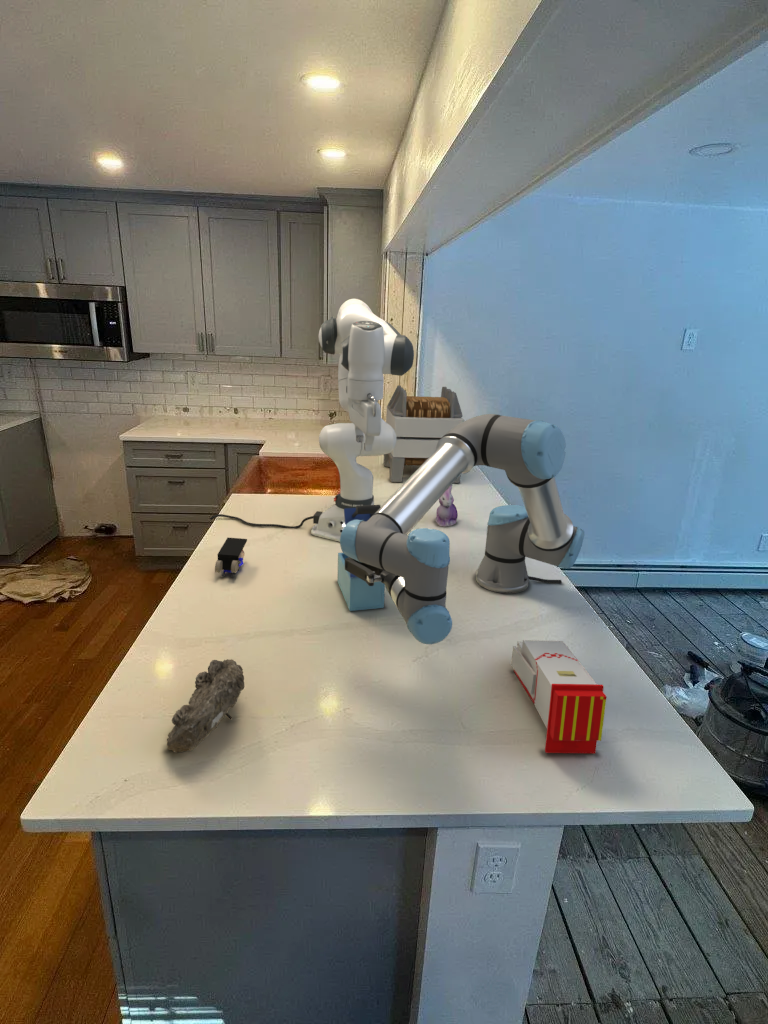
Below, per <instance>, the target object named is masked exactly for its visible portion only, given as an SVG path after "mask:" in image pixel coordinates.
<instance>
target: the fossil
mask: <svg viewBox="0 0 768 1024" xmlns="http://www.w3.org/2000/svg"><path fill="white" fill-rule="evenodd" d="M243 670H244V669H243V667H242V665H240V664H237V662H236V661H235V660H234V659H232V658H231V659H227V658H226V659H224V660H223V661H222V660H217V659H212V660H211V661H210V663H209V665H208V666H207V671H201V672H199V673H198V674H197V675H196V676H195V680H194V684H195V685H194V687H195V689H194V690H193V693H192V694H191V697H190V698H189V700H188V704H184V705H182V706H181V707H180V709H177V710H176V711H175V713H174V715H173V716H172V718H171V723H172V724H173V727H172V730H171V731H170V732H168V734H167V738H166V741H167V742H166V745H167V749H168V750H169V751H173V752H174V753H176V754H178V753H182V752H188V751H189V752H192V751H193V750H195V748H196V747H197V746H199V744H200V743H201V742H203V741H204V740H205V739H206V738H207V737H208V736H209V735H210V734H211V733H212V732H214V730H215V729H217V727H218V726H219V724H220V722H221V721H222V720H223V719H224V718H225V716H226V717H227V719H229V720H233V717H232V715H230V714H229V710H230V709H231V708H234V706H235V704H236V703H237V702H238V699H239V697H240V695H241V693H242V691H243V690H245V689H244V688H245V675H244V671H243Z"/></svg>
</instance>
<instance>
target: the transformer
mask: <svg viewBox="0 0 768 1024" xmlns="http://www.w3.org/2000/svg"><path fill="white" fill-rule="evenodd" d="M440 393H441V394H440V396H415V395H414V396H413V395H412V396H411V395H407V394H408V393H407V390H406V389H404V388H403V387H402V385H399V384H398V385H397V386H396V388H395V390H394V392H393V394H392V395H391V398H390V400H389V402H388V404H387V405H386V413H385V414H386V415H385V422H386V423H387V424H389V425H390V426H391V427H392V428H393V429H394V431H395V433H396V438H397V440H396V445H395V448H394V449H393V451H392V452H391V453H388V454H384V455H383V466H384V467H388V468H389V475H388V476H389V477H388V478H389V480H390V482H391V483H402V482H403V475H404V469H405V466H406V467H407V466H411V467H412V466H413V467H415V466H416V467H417V466H418V467H420V466H421V465H422V464H423V463H424V462H425V461H426V460H427V459H428V458H429V457H430V456H431V455H432V454H433V453H434V452H435V451H436V445H437V443H438V441H439V440H440V439H441V438H442V437H443V436H444V435H445V434H446V433H447V432H449V431H450V430H451V429H452V428H454V427H455V426H457V425H459V424H460V423H462V422H464V421H466V420H465V419H464V418H463V411H462V408H461V405H460V402H459V398H458V395H457V392H455V391H453V390H452V389H451V388H447V386H442V387H441V392H440ZM455 483H456V484H459V483H461V475H460V476H459V477H458V478H457V479H456V480H455V481H454V482H453V484H455Z"/></svg>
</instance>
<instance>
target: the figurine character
mask: <svg viewBox="0 0 768 1024" xmlns="http://www.w3.org/2000/svg"><path fill="white" fill-rule="evenodd" d="M247 542H248V538H240V537H226V539H225V541H224V543H223V544H222V546H221V547H220V549H219V551H218V552H217V560H216V562H215V564H214V572H215V573H221V577H222V578H224V577H225V576H226V574H227V573H230V574H231V573H232V574H231V578H234V577H235V575H236V573H237V572H239V571H240V567H242V566H243V565H244V564H245V562H244V558H245V551H244V547H245V546H246V544H247Z"/></svg>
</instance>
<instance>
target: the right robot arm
mask: <svg viewBox="0 0 768 1024" xmlns="http://www.w3.org/2000/svg"><path fill="white" fill-rule="evenodd" d="M566 446H567V444H566V437H565V435H564V433H563V431H562V429H561V428H560V426H558V425H556V424H554V423H550V422H546V421H544V420H539V419H538V420H537V419H536V420H535V419H529V418H523V417H522V418H521V417H515V416H508V415H502V414H501V415H500V414H495V413H485V414H480V415H476V416H473V417H471V418H468V419H466V420H465V421H464V422H462V423H460V424H459V425H457V426H455V427H454V428H452V429H451V430H450V431H449V432H447V433H446V434H445V435H444V436H443V437H442V438H441V439H440V440H439V441H438V443H437V445H436V451H435V452H434V453H433V454H432V455H431V456H430V457H429V458H428V459H427V460H426V461H425V462H424V463H423V464H422V465H421V466H418V468H417V469H416V470H415V471H414V472H413V473H412V474H411V475H410V477H408V479H406V481H404V483H402V484H401V486H400V487H399V488H397V490H396V491H395V492H394V493H393V494H392V495H390V497H389V498H388V499H387V500H386V501H385V502H384V503H383V504H382V506H381V505H380V506H381V507H380V509H379V510H378V511H377V512H376V513H375V514H374V515H373V516H372V517H371V518H370V519H369V520H368V521H364V520H353V521H350V522H349V523H347V524H346V526H345V527H344V529H343V531H342V533H341V537H340V542H339V545H340V549H341V552H342V553H344V554H345V555H347V556H349V558H345V570H346V571H348V572H350V573H351V574H353V575H355V576H357V577H358V578H360V579H362V580H364V581H365V582H366V583H367V584H368V585H369V586H374V582H379V581H381V582H382V583H383V584H385V590H386V591H387V593H388V594H389V596H390V598H391V600H392V601H393V603H394V605H395V606H396V608H397V610H398V612H399V613H400V615H401V617H402V619H403V621H404V622H405V625H406V627H407V629H408V631H409V632H410V634H412V636H413V637H414V638H415V640H416V641H418V642H419V643H420V644H424V645H434V644H439V643H440V642H443V640H445V639H446V638H447V637H448V636H449V634H450V633H451V631H452V628H453V618H452V616H451V614H450V611H449V609H448V608H447V607H446V605H447V604H446V603H447V585H448V575H449V566H450V562H451V557H450V554H451V553H450V549H451V548H450V544H451V543H450V538H449V536H448V535H447V533H445V532H443V531H442V530H440V529H435V528H426V527H420V528H416V529H413V528H415V526H416V525H417V524H418V523H419V522H420V520H421V519H422V518H423V517H424V516H425V515H426V514H427V513H428V512H429V511H430V509H431V508H433V506H434V505H435V504H436V503H437V502H438V501H439V498H440V497H441V496H442V495H443V494H444V493H445V491H446V490H447V489H448V488H449V487H450V486H451V485H452V486H453V484H454V483H453V482H454V481H455V480H456V479H457V478H458V477H459V476H460V477H461V475H462V474H467V473H469V472H470V471H472V470H473V468H474V467H477V466H485V467H488V468H492V469H498V470H503V471H504V472H505V474H506V477H507V479H508V481H509V482H510V483H511V484H512V485H513V486H515V487H517V488H518V491H519V495H520V497H521V500H522V503H523V505H521V504H506V505H500V506H496V507H494V508H492V509H491V510H490V512H489V515H488V519H487V520H488V521H487V524H486V525H487V529H486V538H485V547H484V555H483V557H482V559H481V561H480V563H479V565H478V568H477V569H476V571H475V581H476V583H477V584H478V585H479V586H480V587H482V588H484V589H486V590H488V591H491V592H494V593H499V594H518V593H521V592H524V591H525V590H527V588H528V587H529V582H530V581H535V582H539V583H546V584H562V579H544V578H541V577H536V576H530V575H529V574H528V569H527V564H526V558H529V559H531V560H535V561H538V562H542V563H545V564H547V565H552V566H555V567H556V568H561V569H566V570H568V569H570V568H572V567H573V566H574V565H575V564H576V561H577V559H578V557H579V555H580V553H581V549H582V546H583V543H584V538H585V530H584V529H583V528H582V527H580V526H578V525H577V526H575V525H574V524H573V521H572V519H571V518H570V517H569V516H568V515H567V513H565V512H564V508H563V505H562V501H561V496H560V492H559V488H558V484H557V481H556V477H557V476H558V475H559V473H560V472H561V470H562V468H563V465H564V463H565V459H566V448H567V447H566Z"/></svg>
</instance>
